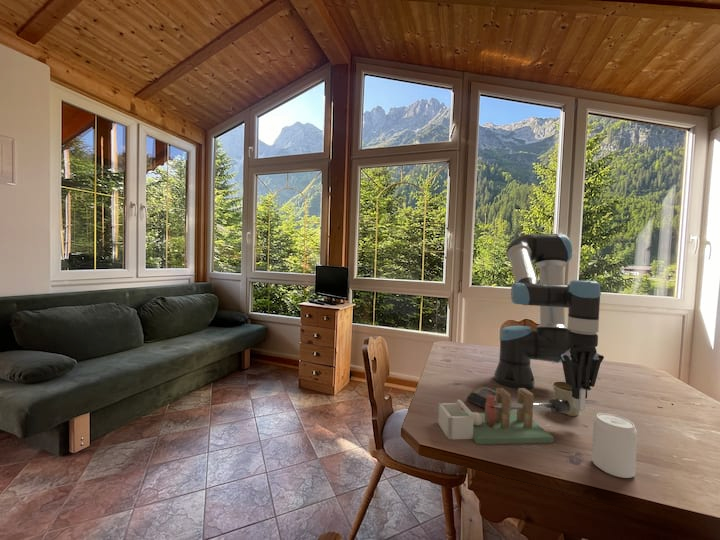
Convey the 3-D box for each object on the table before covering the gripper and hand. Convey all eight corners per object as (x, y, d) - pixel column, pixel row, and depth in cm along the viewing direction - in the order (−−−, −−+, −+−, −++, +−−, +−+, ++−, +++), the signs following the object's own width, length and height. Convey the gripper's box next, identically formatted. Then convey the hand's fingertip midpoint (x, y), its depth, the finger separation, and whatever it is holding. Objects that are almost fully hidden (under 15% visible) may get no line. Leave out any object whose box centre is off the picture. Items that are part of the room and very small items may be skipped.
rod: (560, 418, 94) (561, 393, 94) (569, 424, 90) (570, 398, 90) (484, 419, 92) (485, 393, 92) (490, 426, 88) (491, 399, 88)
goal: (459, 422, 94) (460, 399, 94) (472, 438, 85) (473, 414, 85) (437, 422, 94) (438, 399, 93) (448, 439, 85) (449, 414, 84)
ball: (478, 421, 92) (479, 409, 92) (484, 428, 88) (485, 415, 88) (467, 421, 92) (467, 409, 91) (472, 428, 88) (473, 416, 88)
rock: (463, 405, 106) (464, 390, 106) (471, 394, 115) (471, 380, 115) (509, 417, 98) (510, 401, 98) (513, 404, 108) (514, 389, 108)
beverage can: (583, 458, 78) (585, 412, 78) (612, 457, 79) (615, 411, 78) (612, 481, 70) (614, 429, 70) (644, 480, 71) (647, 428, 70)
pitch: (522, 416, 99) (522, 412, 98) (553, 442, 85) (553, 437, 85) (456, 417, 97) (456, 413, 97) (477, 444, 83) (477, 438, 83)
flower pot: (574, 421, 97) (575, 394, 97) (544, 408, 105) (546, 383, 105) (590, 415, 101) (591, 389, 101) (560, 403, 109) (561, 379, 109)
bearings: (522, 420, 93) (524, 387, 93) (532, 428, 89) (533, 394, 89) (494, 420, 93) (496, 388, 92) (502, 428, 88) (504, 394, 88)
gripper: (591, 329, 96) (588, 402, 97) (553, 328, 95) (549, 403, 96) (613, 334, 89) (609, 414, 89) (572, 334, 88) (568, 415, 88)
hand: (578, 408), depth 93 cm, fingers closed
